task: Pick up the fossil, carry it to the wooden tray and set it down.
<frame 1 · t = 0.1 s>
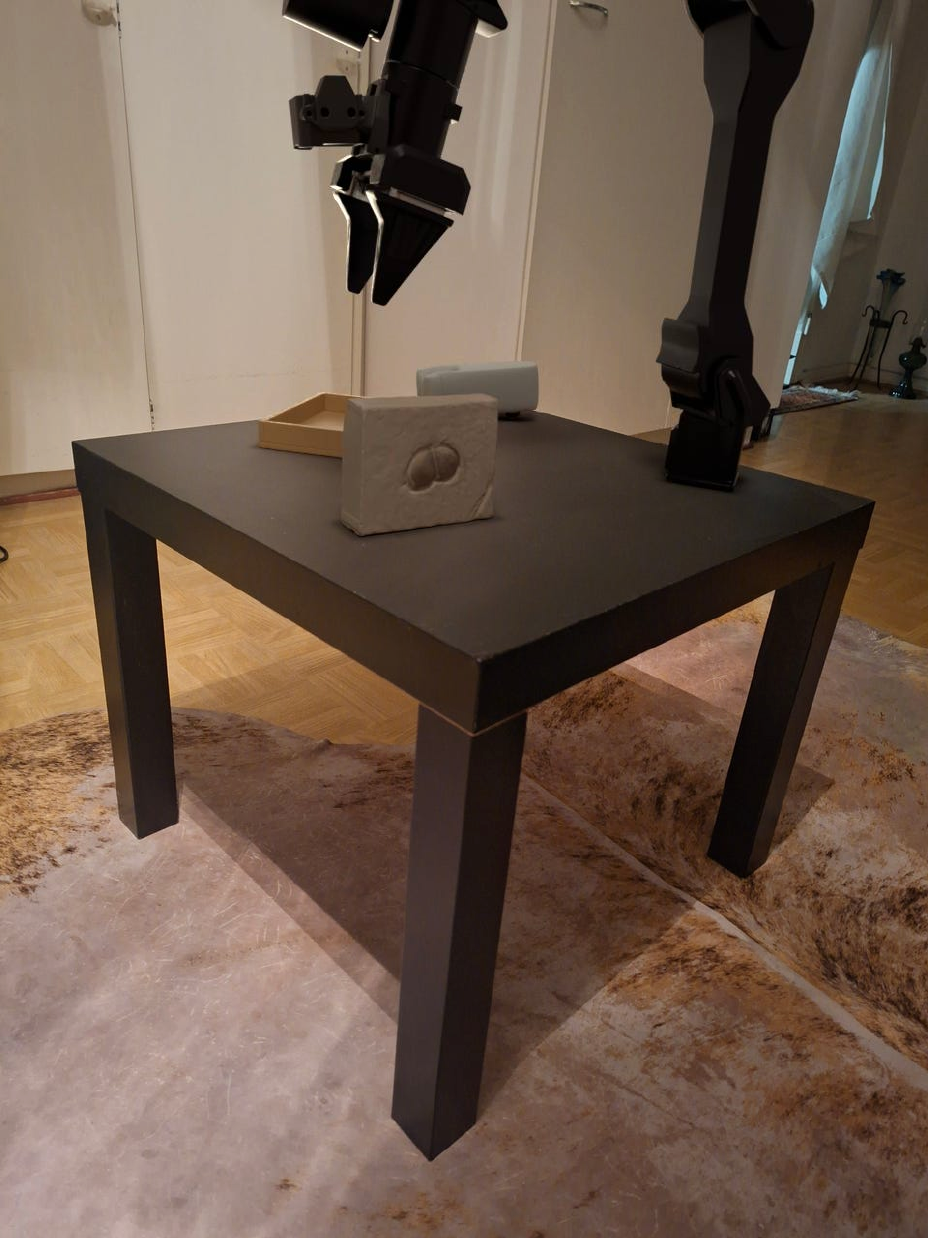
hand: (364, 298, 66), 15 cm above the table, tool pointing down, fingers open, 9 cm apart
toy: (474, 418, 103), on the table
wooden tray: (378, 439, 88), on the table
fossil: (418, 523, 66), on the table
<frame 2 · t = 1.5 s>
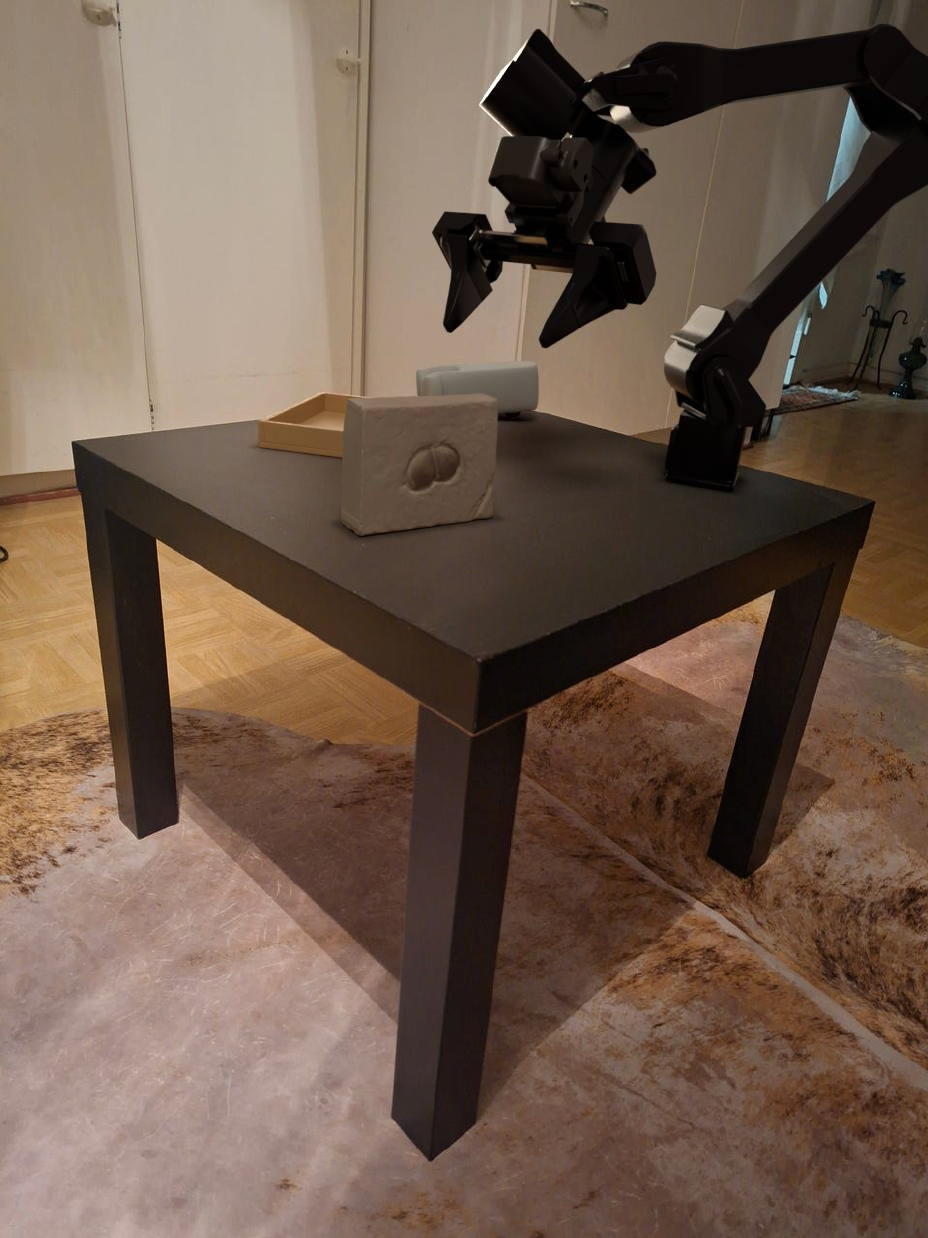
hand: (492, 336, 66), 13 cm above the table, tool tilted 45°, fingers open, 9 cm apart
nothing on the table moved.
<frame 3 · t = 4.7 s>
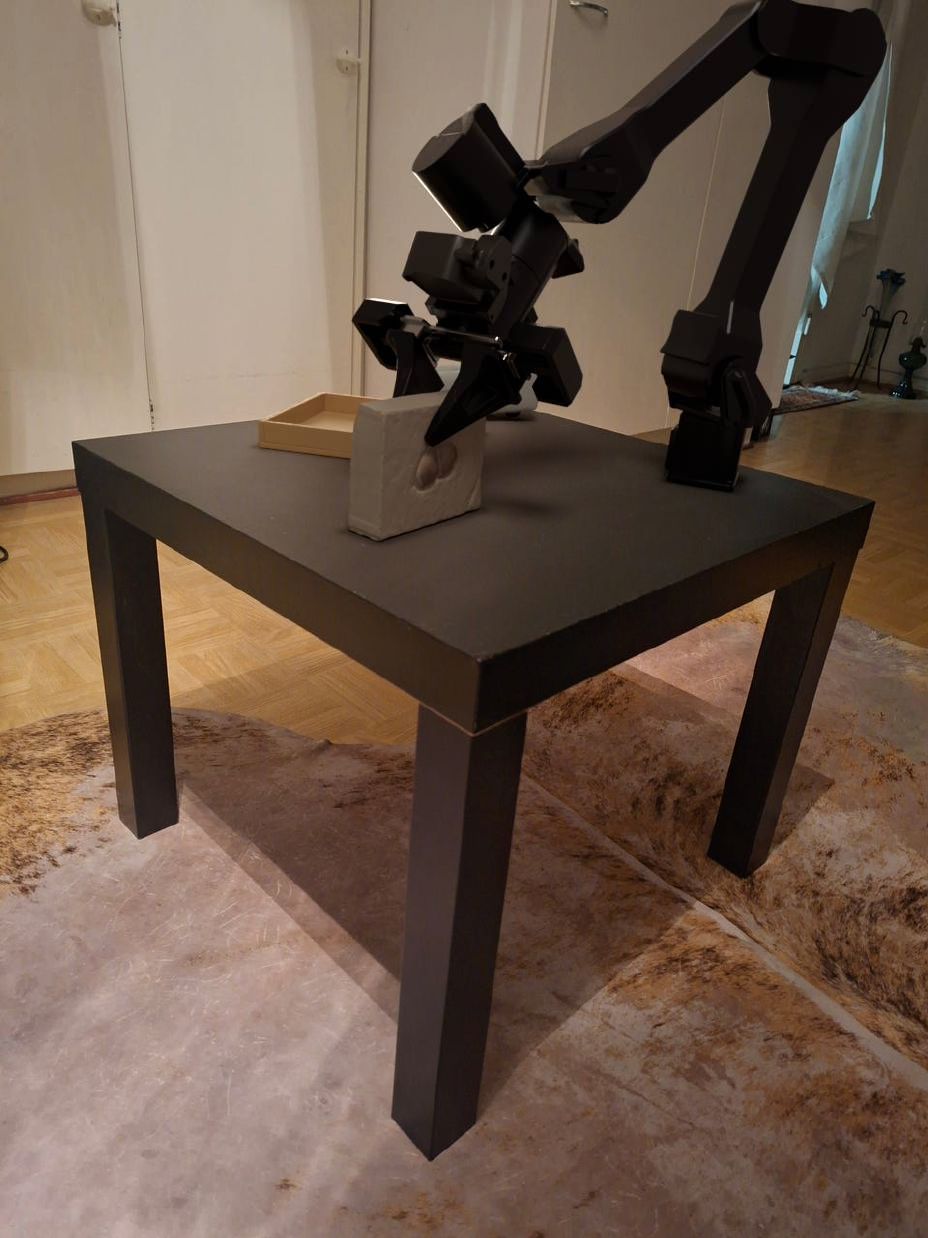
hand: (408, 438, 62), 7 cm above the table, tool tilted 45°, fingers closed on fossil, 3 cm apart
fossil: (416, 521, 66), on the table, touching gripper
everything else where it was.
when the fingers open (7 cm above the table, at t = 11.9 s): fossil stays where it is, resting on wooden tray.
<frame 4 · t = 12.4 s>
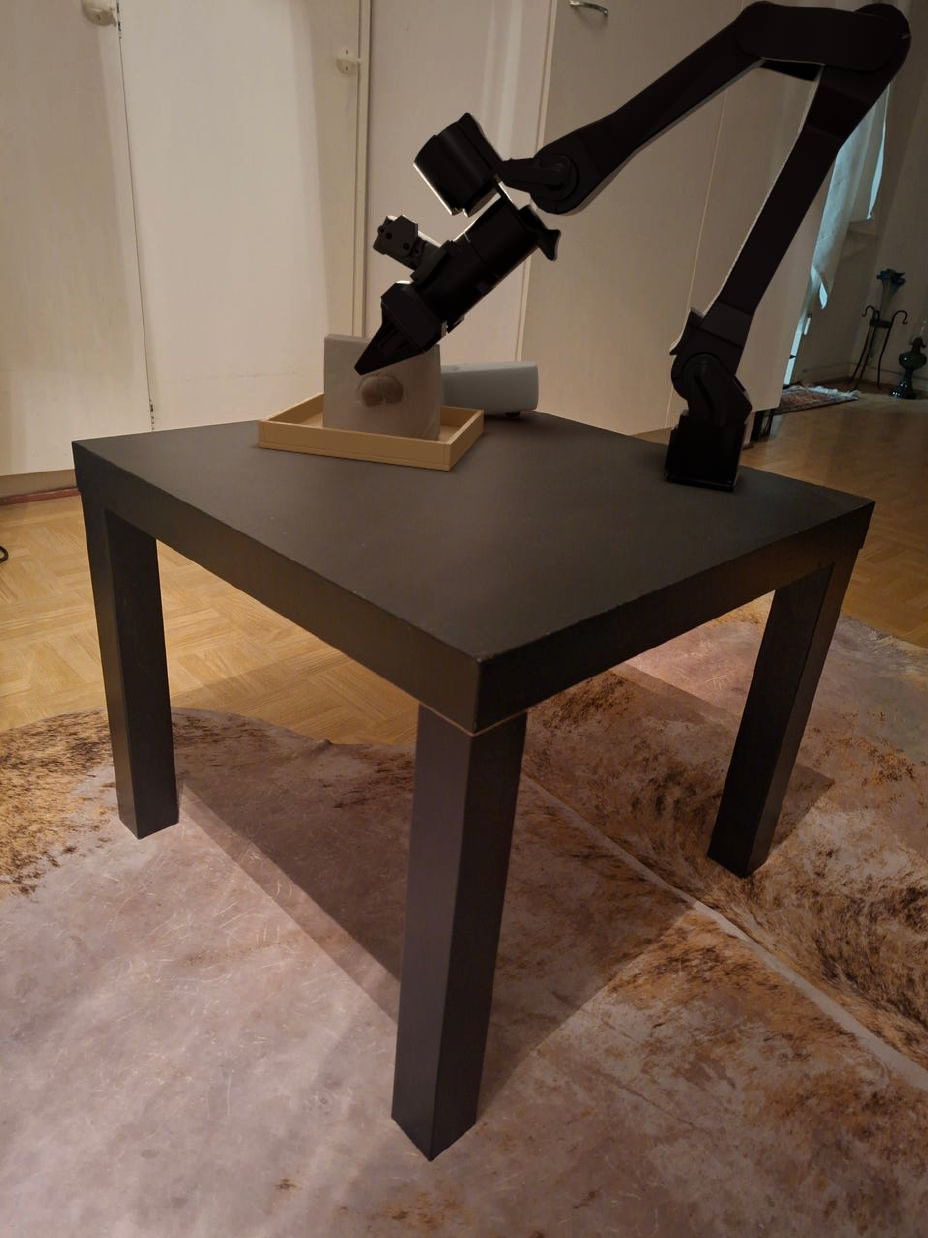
hand: (366, 365, 85), 8 cm above the table, tool tilted 45°, fingers open, 8 cm apart
fossil: (381, 436, 88), resting on wooden tray
everything else where it was.
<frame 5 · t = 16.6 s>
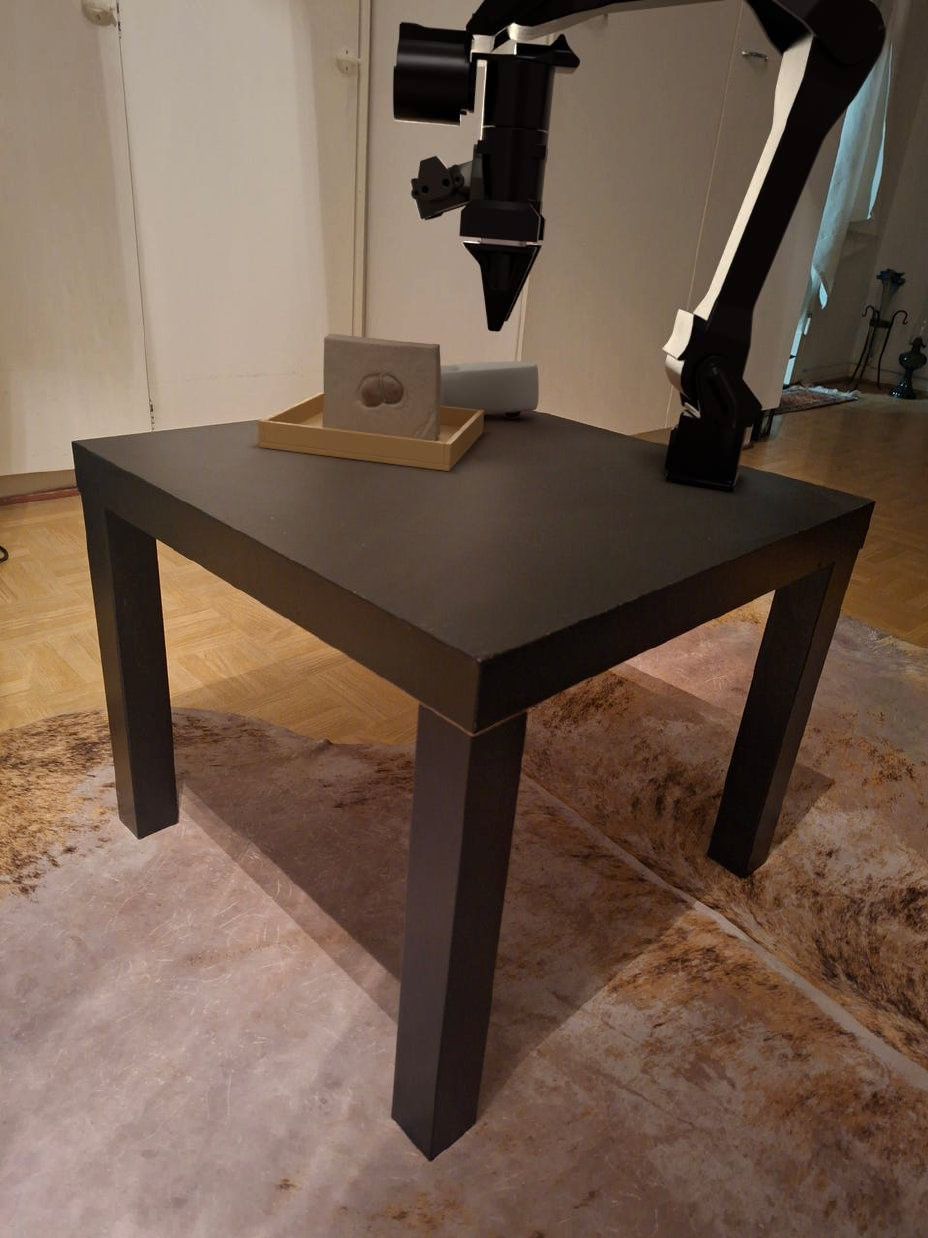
hand: (498, 325, 77), 13 cm above the table, tool pointing down, fingers open, 9 cm apart
nothing on the table moved.
at the end: fossil inside the target area in the wooden tray (0.4 cm from its centre), point 0.4 cm above the wooden tray's base; the gripper is holding nothing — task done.
